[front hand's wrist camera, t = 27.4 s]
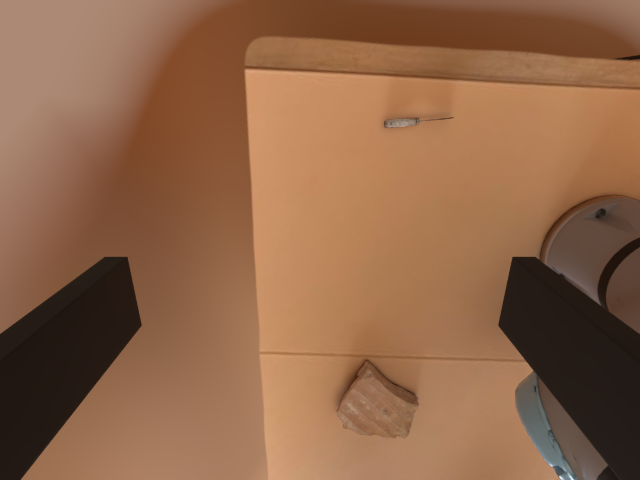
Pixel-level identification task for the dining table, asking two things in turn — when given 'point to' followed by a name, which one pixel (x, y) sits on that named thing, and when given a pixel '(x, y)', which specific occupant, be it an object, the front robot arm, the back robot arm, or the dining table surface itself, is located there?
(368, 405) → the stone
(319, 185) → the dining table surface
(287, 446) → the dining table surface
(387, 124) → the putty knife
